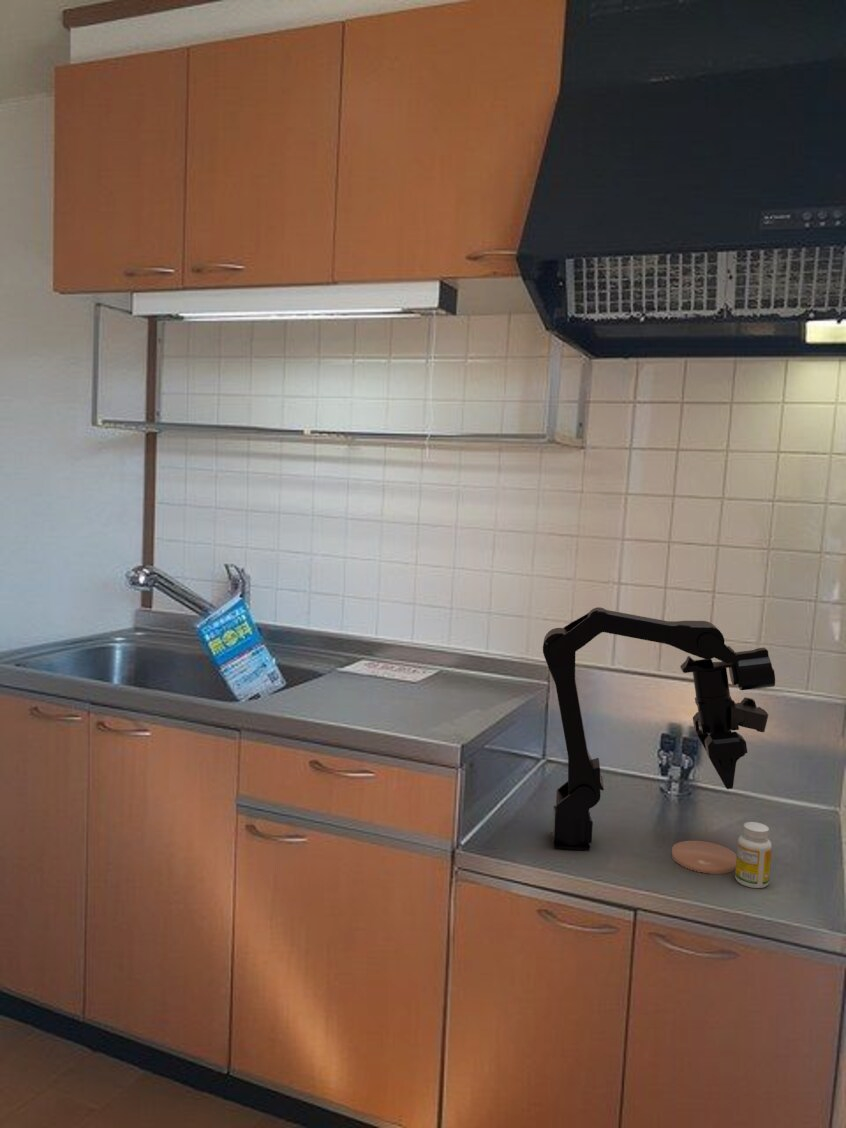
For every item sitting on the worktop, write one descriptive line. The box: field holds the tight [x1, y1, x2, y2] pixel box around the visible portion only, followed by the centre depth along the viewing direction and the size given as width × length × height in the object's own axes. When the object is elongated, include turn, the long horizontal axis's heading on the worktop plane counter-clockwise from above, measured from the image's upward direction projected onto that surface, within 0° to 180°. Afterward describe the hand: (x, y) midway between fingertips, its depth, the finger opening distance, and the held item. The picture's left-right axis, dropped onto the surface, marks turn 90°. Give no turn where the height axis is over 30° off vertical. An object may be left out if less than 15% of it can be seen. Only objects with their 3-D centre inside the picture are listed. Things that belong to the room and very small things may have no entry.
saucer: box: [671, 840, 737, 875], centre depth 155 cm, size 11×11×1 cm
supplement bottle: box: [734, 821, 773, 889], centre depth 147 cm, size 5×5×10 cm
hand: (724, 779), depth 155 cm, fingers open, 9 cm apart
